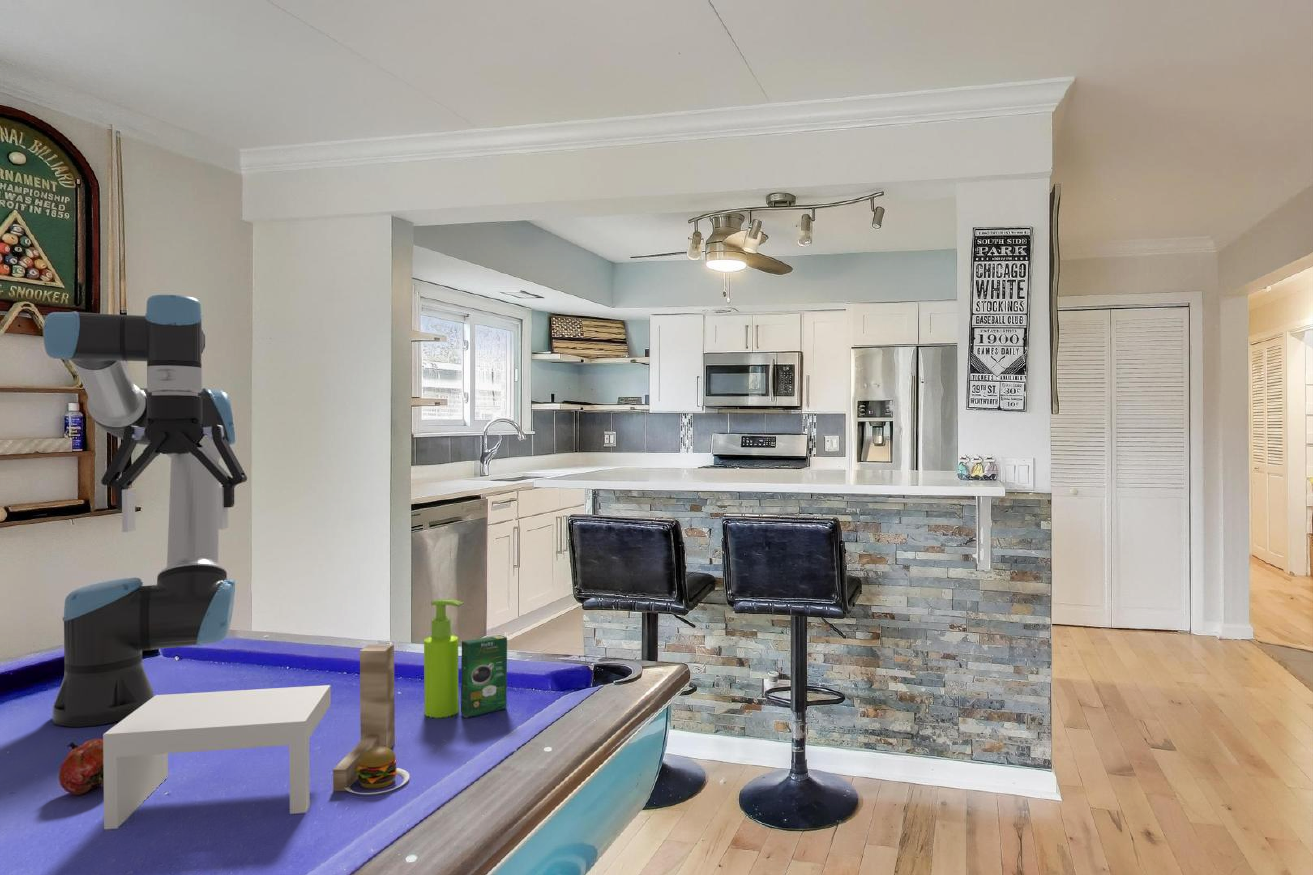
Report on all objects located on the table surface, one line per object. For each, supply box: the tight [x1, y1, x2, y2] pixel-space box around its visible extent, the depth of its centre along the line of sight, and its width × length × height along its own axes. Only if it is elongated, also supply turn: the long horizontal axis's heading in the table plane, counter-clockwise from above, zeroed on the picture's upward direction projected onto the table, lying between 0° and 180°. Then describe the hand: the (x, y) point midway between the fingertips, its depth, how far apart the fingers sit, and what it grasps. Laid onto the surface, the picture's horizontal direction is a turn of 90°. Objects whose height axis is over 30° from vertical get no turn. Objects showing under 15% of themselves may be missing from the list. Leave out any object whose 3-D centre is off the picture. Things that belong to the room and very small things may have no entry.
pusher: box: [332, 643, 396, 792], centre depth 124 cm, size 18×4×16 cm, turn 179°
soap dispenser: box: [423, 598, 464, 719], centre depth 148 cm, size 6×7×20 cm
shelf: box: [102, 684, 332, 830], centre depth 115 cm, size 16×24×12 cm, turn 100°
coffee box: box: [460, 635, 508, 718], centre depth 148 cm, size 8×3×13 cm, turn 129°
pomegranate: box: [58, 738, 104, 796], centre depth 116 cm, size 7×7×10 cm
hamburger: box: [345, 746, 410, 796], centre depth 118 cm, size 12×12×6 cm
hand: (176, 530), depth 131 cm, fingers open, 13 cm apart
